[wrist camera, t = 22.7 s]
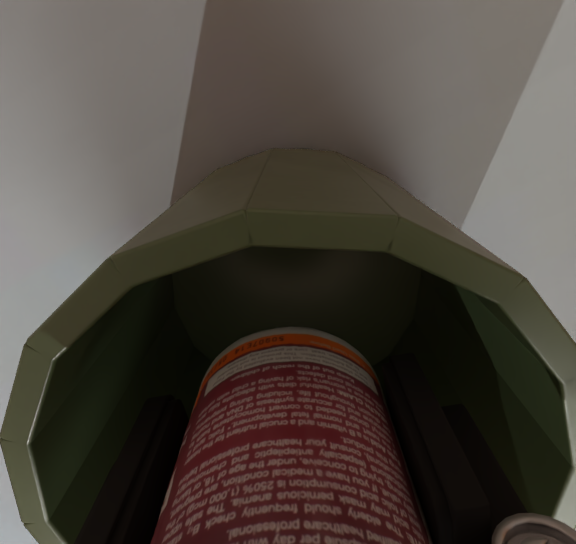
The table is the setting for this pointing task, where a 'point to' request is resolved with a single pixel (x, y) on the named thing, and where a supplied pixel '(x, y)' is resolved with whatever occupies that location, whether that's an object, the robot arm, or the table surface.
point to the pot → (283, 313)
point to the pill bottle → (291, 451)
